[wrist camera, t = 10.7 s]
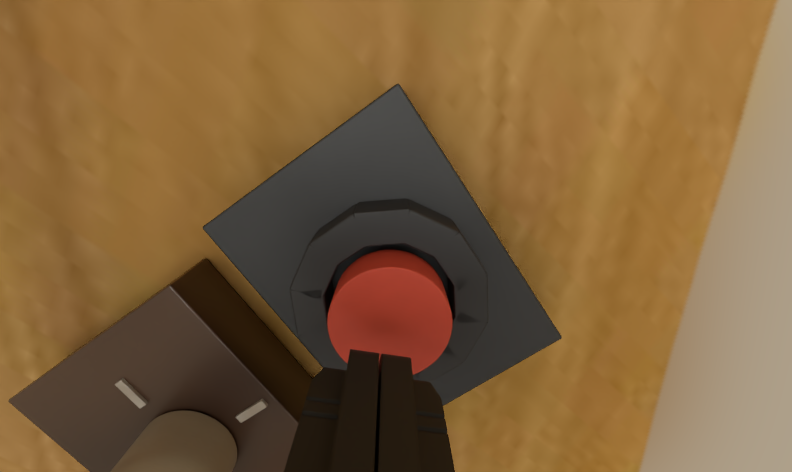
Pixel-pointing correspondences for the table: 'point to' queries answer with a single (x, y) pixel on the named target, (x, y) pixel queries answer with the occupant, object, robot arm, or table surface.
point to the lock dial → (181, 446)
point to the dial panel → (174, 378)
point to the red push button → (391, 309)
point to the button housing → (384, 242)
